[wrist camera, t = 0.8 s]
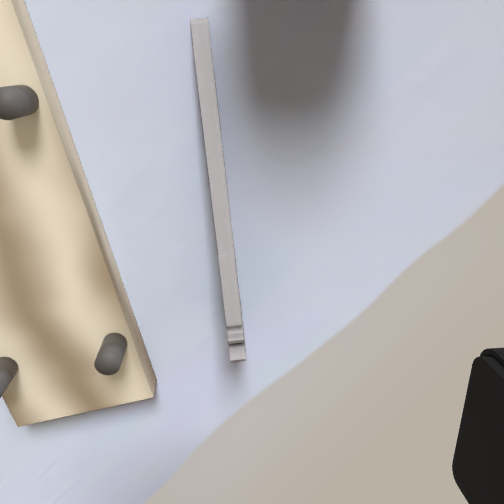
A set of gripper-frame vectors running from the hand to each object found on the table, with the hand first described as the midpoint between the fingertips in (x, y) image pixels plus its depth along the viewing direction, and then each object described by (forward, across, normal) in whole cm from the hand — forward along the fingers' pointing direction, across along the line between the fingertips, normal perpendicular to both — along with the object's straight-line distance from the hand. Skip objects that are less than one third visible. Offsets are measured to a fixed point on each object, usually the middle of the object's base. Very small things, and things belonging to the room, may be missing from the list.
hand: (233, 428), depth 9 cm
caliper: (+24, -1, +1) cm, 24 cm away
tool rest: (+24, +12, +4) cm, 27 cm away
